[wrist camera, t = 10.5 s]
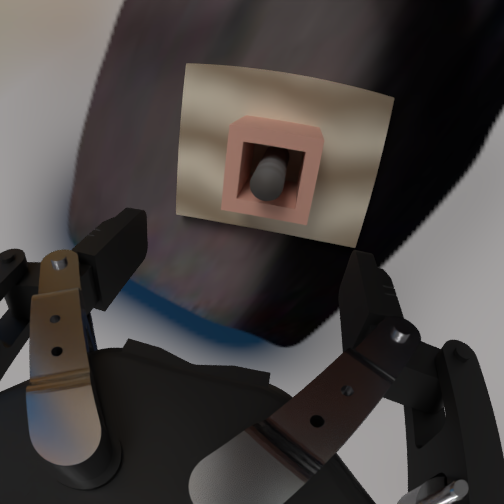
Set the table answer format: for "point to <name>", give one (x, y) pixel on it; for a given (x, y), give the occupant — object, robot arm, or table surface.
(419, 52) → the table surface
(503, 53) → the table surface
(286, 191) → the bead
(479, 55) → the table surface
